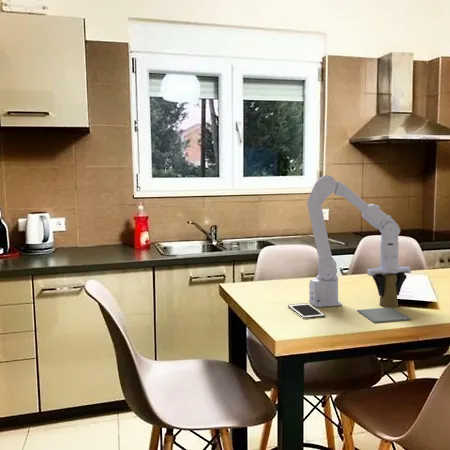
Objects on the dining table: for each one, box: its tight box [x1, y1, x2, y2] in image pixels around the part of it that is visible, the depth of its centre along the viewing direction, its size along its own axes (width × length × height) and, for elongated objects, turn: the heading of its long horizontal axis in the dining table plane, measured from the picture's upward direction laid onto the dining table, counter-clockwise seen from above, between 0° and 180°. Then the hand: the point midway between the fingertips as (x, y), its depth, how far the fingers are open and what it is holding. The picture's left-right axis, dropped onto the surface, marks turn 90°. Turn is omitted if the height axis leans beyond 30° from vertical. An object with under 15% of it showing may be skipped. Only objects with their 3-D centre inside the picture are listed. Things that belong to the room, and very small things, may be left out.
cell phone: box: [287, 302, 326, 319], centre depth 156 cm, size 8×15×1 cm, turn 13°
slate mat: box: [356, 307, 412, 324], centre depth 150 cm, size 12×12×1 cm
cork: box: [379, 273, 399, 309], centre depth 160 cm, size 6×6×11 cm
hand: (388, 295), depth 160 cm, fingers closed on cork, 5 cm apart
